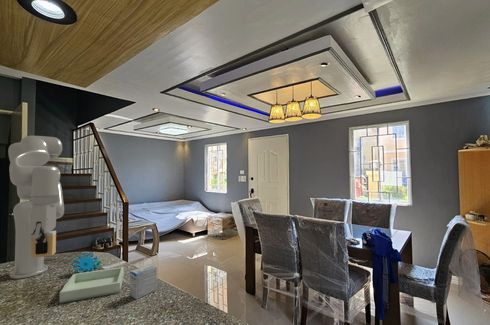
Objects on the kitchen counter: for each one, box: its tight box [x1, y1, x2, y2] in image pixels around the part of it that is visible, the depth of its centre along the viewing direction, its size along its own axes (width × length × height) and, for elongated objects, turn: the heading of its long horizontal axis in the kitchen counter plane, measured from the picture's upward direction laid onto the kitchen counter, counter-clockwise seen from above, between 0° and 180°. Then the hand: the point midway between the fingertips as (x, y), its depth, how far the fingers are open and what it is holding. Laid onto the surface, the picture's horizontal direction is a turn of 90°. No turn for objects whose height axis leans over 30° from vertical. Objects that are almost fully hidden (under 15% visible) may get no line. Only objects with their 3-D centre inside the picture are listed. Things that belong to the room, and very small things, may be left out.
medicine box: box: [129, 264, 158, 300], centre depth 86 cm, size 8×4×9 cm, turn 145°
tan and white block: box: [31, 230, 57, 258], centre depth 86 cm, size 4×6×8 cm, turn 113°
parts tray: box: [59, 266, 125, 304], centre depth 91 cm, size 16×18×4 cm
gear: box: [72, 252, 103, 273], centre depth 106 cm, size 11×6×10 cm
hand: (43, 251), depth 86 cm, fingers closed on tan and white block, 3 cm apart
